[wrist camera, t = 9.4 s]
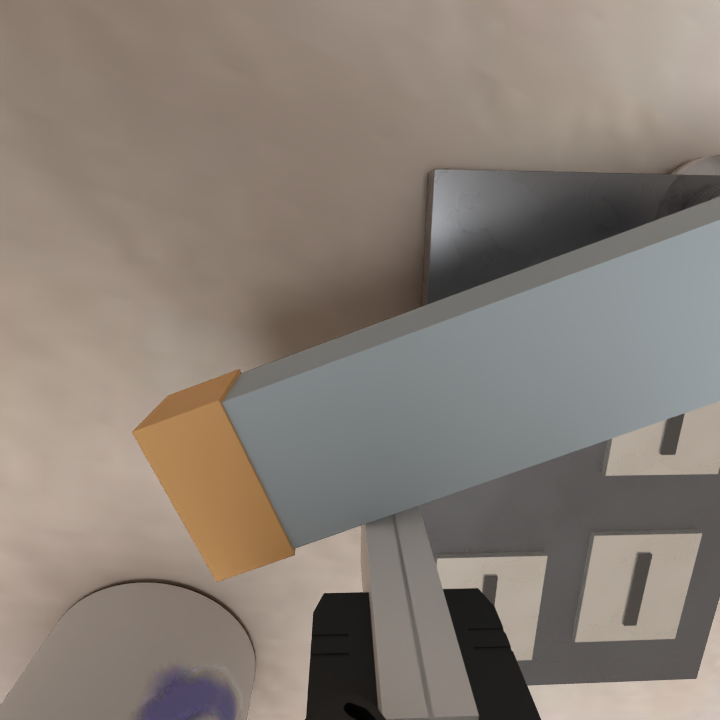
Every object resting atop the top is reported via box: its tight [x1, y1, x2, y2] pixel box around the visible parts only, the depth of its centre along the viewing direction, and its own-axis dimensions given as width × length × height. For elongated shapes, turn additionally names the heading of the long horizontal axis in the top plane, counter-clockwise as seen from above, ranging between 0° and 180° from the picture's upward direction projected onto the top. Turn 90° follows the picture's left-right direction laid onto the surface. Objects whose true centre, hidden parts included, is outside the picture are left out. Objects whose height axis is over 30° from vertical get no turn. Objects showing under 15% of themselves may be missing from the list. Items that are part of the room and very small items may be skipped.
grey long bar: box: [132, 197, 720, 582], centre depth 11 cm, size 21×4×2 cm, turn 110°
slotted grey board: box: [419, 169, 720, 685], centre depth 20 cm, size 24×15×2 cm, turn 179°
